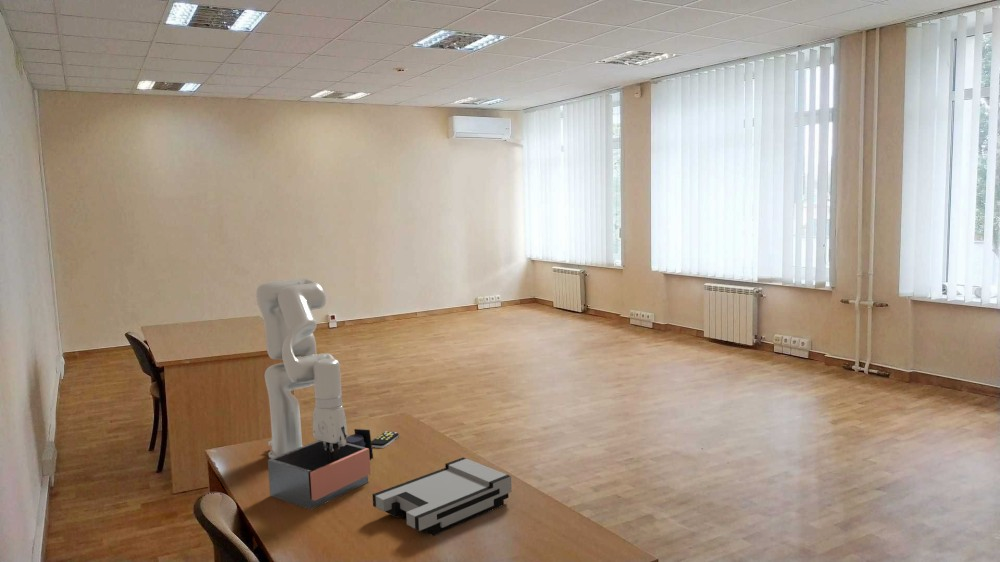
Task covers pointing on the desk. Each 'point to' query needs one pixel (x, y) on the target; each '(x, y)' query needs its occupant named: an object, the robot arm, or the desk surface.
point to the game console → (446, 496)
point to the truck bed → (305, 474)
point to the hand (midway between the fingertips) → (332, 462)
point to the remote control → (384, 439)
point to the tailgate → (339, 473)
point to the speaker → (361, 439)
